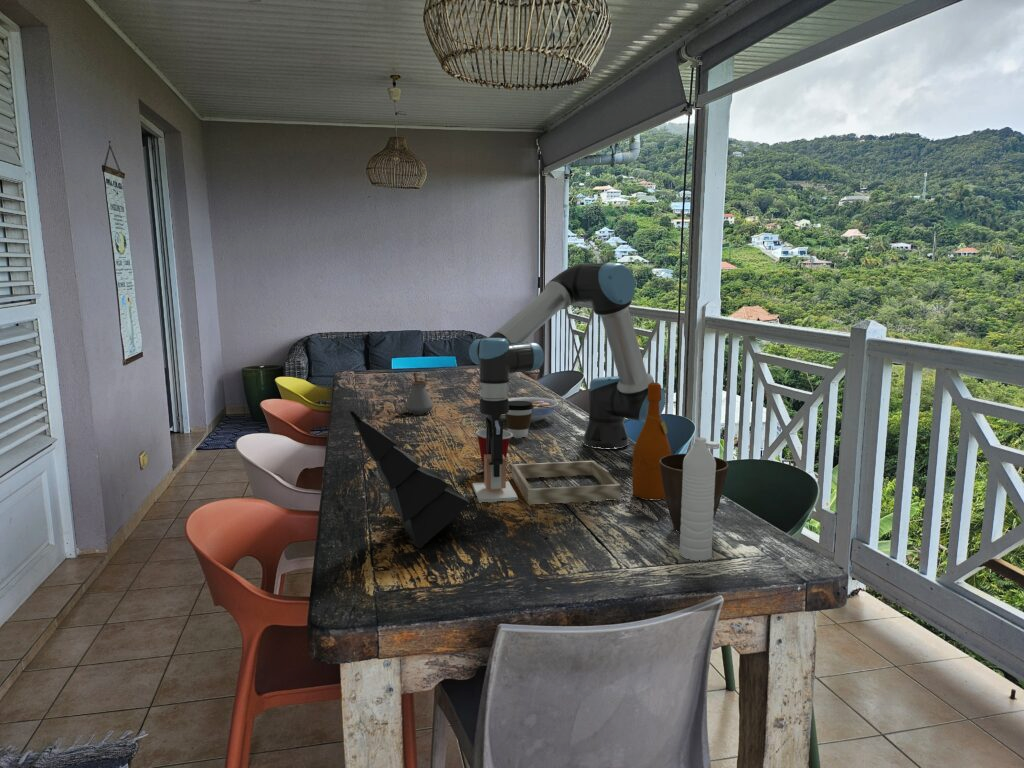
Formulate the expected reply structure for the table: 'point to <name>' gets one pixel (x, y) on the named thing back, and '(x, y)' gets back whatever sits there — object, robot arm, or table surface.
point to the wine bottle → (650, 450)
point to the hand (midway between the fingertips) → (494, 484)
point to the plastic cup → (482, 442)
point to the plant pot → (673, 483)
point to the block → (488, 472)
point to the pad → (494, 493)
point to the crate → (565, 494)
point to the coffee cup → (519, 418)
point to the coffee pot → (419, 398)
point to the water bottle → (698, 501)
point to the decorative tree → (412, 487)
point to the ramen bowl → (539, 407)
